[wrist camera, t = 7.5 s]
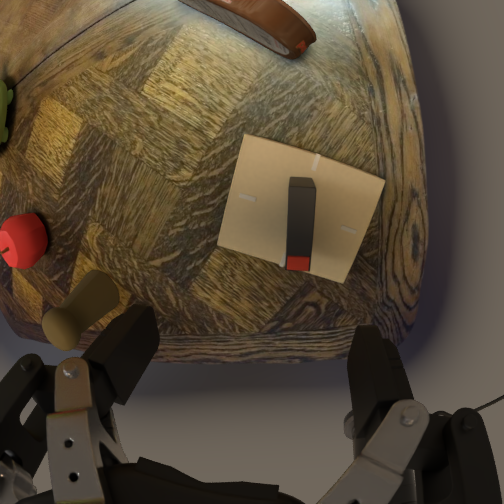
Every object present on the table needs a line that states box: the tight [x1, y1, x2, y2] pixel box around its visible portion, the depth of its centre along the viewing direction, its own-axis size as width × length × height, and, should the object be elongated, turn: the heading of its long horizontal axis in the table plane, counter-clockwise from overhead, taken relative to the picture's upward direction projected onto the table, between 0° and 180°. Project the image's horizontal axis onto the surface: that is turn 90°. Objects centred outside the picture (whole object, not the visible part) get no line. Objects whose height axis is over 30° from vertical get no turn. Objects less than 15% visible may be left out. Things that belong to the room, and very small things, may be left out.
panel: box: [217, 134, 385, 283], centre depth 24 cm, size 12×10×3 cm
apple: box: [0, 213, 48, 269], centre depth 28 cm, size 8×8×8 cm
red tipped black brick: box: [285, 177, 316, 272], centre depth 20 cm, size 6×2×5 cm, turn 0°
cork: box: [42, 270, 119, 351], centre depth 28 cm, size 6×6×11 cm
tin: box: [179, 0, 316, 59], centre depth 15 cm, size 15×3×8 cm, turn 52°
